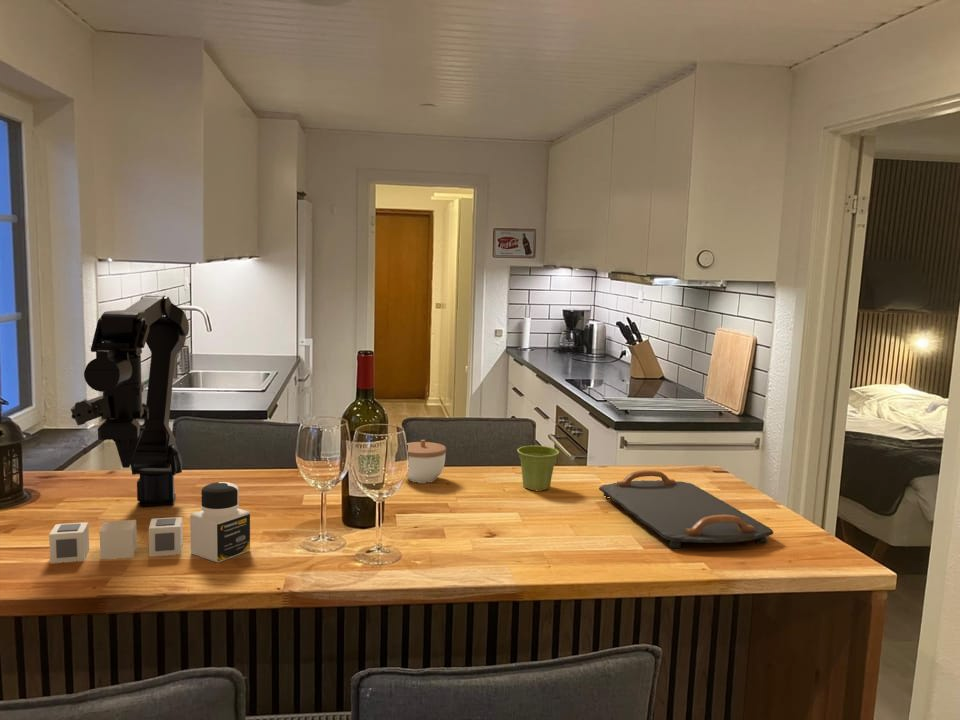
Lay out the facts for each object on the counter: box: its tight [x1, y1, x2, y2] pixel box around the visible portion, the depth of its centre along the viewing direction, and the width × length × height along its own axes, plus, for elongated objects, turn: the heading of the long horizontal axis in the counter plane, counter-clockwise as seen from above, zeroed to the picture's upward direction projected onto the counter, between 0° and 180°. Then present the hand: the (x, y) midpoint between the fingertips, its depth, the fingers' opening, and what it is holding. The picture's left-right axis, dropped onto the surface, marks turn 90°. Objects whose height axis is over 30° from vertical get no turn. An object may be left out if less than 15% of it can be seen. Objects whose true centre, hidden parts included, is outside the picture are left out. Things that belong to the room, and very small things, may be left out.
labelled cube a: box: [148, 516, 184, 557], centre depth 138 cm, size 5×5×5 cm
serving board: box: [598, 469, 774, 550], centre depth 164 cm, size 39×23×6 cm, turn 14°
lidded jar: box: [406, 439, 447, 484], centre depth 185 cm, size 11×11×9 cm
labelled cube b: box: [48, 521, 90, 564], centre depth 133 cm, size 5×5×5 cm
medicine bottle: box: [189, 481, 251, 563], centre depth 137 cm, size 7×7×12 cm
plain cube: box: [99, 519, 138, 561], centre depth 136 cm, size 5×5×5 cm
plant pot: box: [516, 445, 560, 491], centre depth 182 cm, size 9×9×9 cm
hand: (126, 467), depth 145 cm, fingers closed
